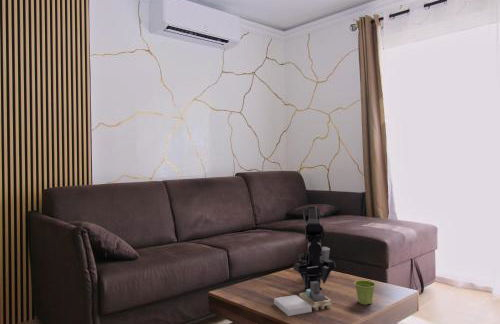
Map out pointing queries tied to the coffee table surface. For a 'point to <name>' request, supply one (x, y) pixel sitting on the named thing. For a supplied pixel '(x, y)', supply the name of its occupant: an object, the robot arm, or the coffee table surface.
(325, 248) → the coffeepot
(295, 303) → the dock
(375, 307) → the coffee table surface
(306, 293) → the teal block
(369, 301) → the plant pot
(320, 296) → the charcoal block
